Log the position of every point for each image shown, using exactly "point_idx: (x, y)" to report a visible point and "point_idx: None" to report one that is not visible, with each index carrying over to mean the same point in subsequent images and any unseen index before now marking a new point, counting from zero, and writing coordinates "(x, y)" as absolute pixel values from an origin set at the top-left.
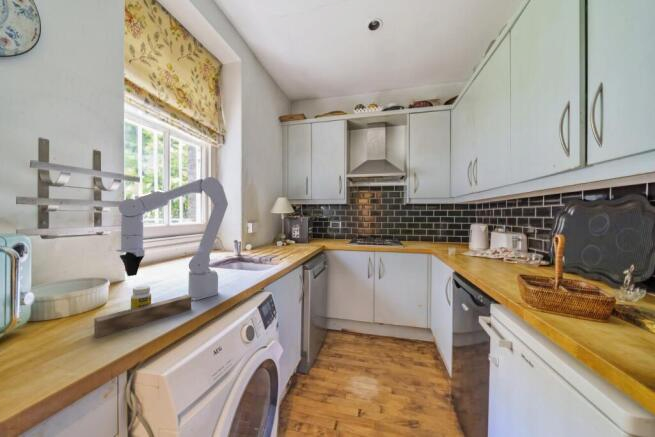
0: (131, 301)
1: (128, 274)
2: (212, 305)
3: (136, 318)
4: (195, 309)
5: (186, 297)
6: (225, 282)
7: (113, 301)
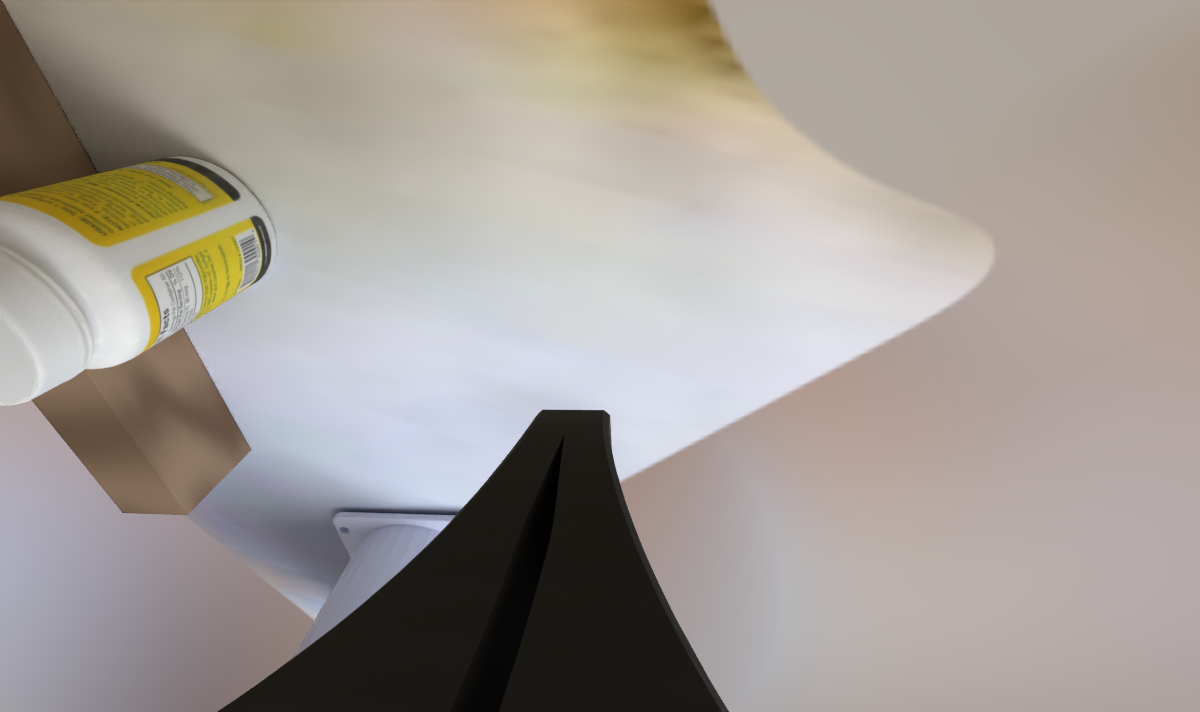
0: (30, 191)
1: (534, 425)
2: (206, 524)
3: None
4: None
5: (117, 492)
6: None
7: (813, 182)
